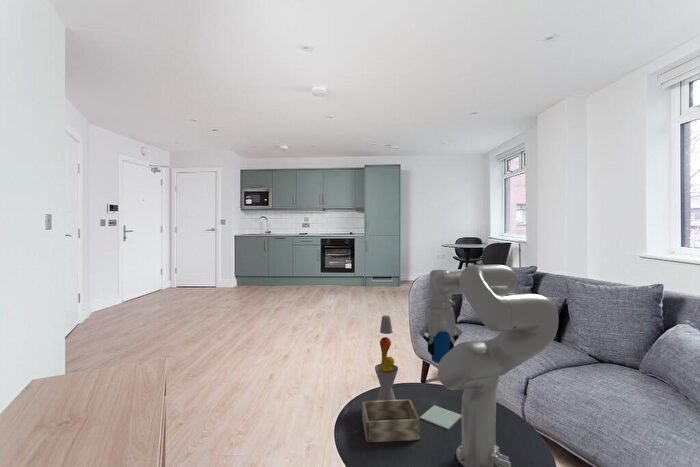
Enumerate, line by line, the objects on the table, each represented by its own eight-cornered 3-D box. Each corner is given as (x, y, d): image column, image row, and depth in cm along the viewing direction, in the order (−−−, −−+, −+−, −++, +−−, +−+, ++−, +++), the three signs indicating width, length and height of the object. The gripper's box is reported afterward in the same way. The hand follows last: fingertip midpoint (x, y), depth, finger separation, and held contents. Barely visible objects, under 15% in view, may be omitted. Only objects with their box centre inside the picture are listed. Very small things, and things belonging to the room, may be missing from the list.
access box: (410, 417, 127) (410, 399, 126) (420, 439, 113) (420, 419, 113) (362, 419, 125) (362, 401, 125) (366, 442, 112) (366, 422, 112)
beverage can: (448, 358, 129) (448, 326, 129) (451, 365, 122) (451, 331, 122) (430, 358, 129) (430, 326, 129) (432, 365, 123) (432, 331, 123)
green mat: (461, 416, 127) (461, 415, 127) (448, 429, 118) (448, 428, 118) (434, 406, 134) (434, 405, 134) (419, 418, 126) (419, 417, 126)
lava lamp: (381, 414, 128) (381, 320, 128) (370, 403, 137) (370, 314, 136) (402, 409, 132) (402, 317, 131) (390, 398, 140) (390, 312, 140)
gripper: (459, 301, 130) (460, 349, 130) (414, 302, 129) (414, 350, 129) (468, 306, 122) (468, 356, 123) (419, 307, 121) (420, 358, 121)
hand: (440, 353), depth 126 cm, fingers closed on beverage can, 6 cm apart
